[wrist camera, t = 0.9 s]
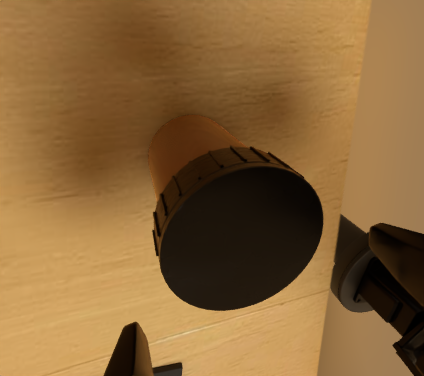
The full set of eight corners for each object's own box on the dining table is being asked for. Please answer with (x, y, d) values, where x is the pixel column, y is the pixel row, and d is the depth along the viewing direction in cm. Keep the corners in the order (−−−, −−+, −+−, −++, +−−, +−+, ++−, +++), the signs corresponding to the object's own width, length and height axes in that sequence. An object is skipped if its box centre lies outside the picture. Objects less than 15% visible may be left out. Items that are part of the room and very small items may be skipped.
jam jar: (236, 117, 20) (325, 171, 11) (224, 194, 22) (290, 287, 13) (148, 111, 18) (173, 170, 9) (147, 195, 20) (164, 304, 12)
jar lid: (311, 147, 12) (346, 165, 10) (278, 268, 15) (301, 300, 13) (154, 141, 10) (162, 163, 8) (150, 282, 13) (154, 323, 11)
